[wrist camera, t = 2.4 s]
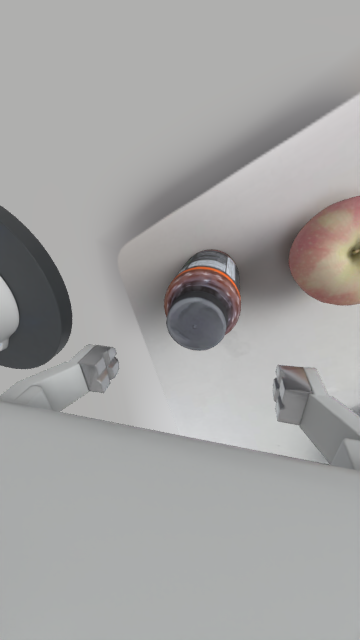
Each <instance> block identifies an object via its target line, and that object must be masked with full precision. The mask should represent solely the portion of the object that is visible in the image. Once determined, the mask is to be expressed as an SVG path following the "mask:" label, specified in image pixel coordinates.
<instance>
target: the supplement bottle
mask: <svg viewBox="0 0 360 640" xmlns="http://www.w3.org/2000/svg"><path fill="white" fill-rule="evenodd" d="M238 272H239V271H238V269H237V266H236V264H235V262H234V261H233V260H232V258H231V257H230V256H228V255H227V254H226V253H224V252H222V251H218V250H204V251H201V252H199V253H197V254H195V255H194V256H193V257H191V258H190V259H189V261H188V262H187V263H186V264H185V266H184V267H183V268H182V269H181V271H180V272H179V273H178V274H177V276H176V277H175V278H174V280H173V281H172V282H171V284H170V285H169V287H168V289H167V292H166V294H165V299H164V309H165V314H166V317H167V321H166V324H167V328H168V331H169V334H170V335H171V337H172V338H173V339H174V340H175V341H176V342H177V343H178V344H180V345H181V346H183V347H185V348H188V349H192V350H207V349H210V348H212V347H214V346H216V345H217V344H218V343H219V342H220V341H221V340H222V339H223V337H224V335H226V334H227V333H229V332H230V331H231V330H232V329H233V327H234V326H235V325H236V323H237V321H238V318H239V316H240V311H241V300H240V296H241V295H240V285H239V273H238Z"/></svg>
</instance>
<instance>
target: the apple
mask: <svg viewBox="0 0 360 640" xmlns="http://www.w3.org/2000/svg"><path fill="white" fill-rule="evenodd" d="M289 268H290V271H291V274H292V276H293V278H294V280H295V281H296V283H297V284H298V285H299V286H300V287H301V289H302V290H303V291H305V292H306V293H307V294H308V295H310V296H311V297H313V298H315V299H317V300H319V301H321V302H324V303H329V304H335V305H354V304H360V196H356V197H352V198H349V199H346V200H343V201H340V202H337V203H335V204H332V205H330V206H328V207H327V208H325V209H324V210H322V211H321V212H319V213H318V214H317V215H315V216H314V217H313V218H312V219H311V220H310V221H309V222H308V223H307V224H306V225H305V226H304V227H303V228H302V229H301V231H300V232H299V233H298V235H297V236H296V238H295V240H294V242H293V244H292V246H291V249H290V253H289Z"/></svg>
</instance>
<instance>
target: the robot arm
mask: <svg viewBox="0 0 360 640" xmlns="http://www.w3.org/2000/svg"><path fill="white" fill-rule="evenodd" d="M18 324H19V311H18V307H17V304H16V301H15V299H14V297H13V294H12V293H11V291H10V289H9V287H8V286H7V284H6V283H5V281H4V280H3V279H2V277H1V276H0V351H2V350H4V349H6V348H7V347H8V343H9V337H10V336H11V335H12V334H13V333H14V332H15V331H16V329H17V327H18ZM115 355H116V350H115V348H113V347H107V346H99V345H90V344H89V345H86V346H85V347H84V348H83V349H82V350H81V351H80V352H78V353H77V354H76V355H75V356H74V357H73V358H72V359H71V360H70V361H69V362H64V363H62V364H59V365H57V366H55V367H52V368H50V369H47V370H45V371H43V372H40V373H38V374H36V375H33V376H31V377H28V378H26V379H23V380H21V381H19V382H17V383H15V384H14V385H13V386H12V387H10V388H9V389H8V390H7V391H6V392H4V393H3V394H2V395H1V396H0V640H360V417H359V416H358V415H357V414H355V413H354V412H353V411H351V410H350V409H349V408H347V407H346V406H345V405H343V404H342V403H341V402H339V401H338V400H337V399H336V398H334V397H331V396H329V395H328V392H327V390H326V388H325V386H324V384H323V382H322V380H321V377H320V375H319V373H318V371H317V369H316V368H310V367H295V366H285V365H277V367H276V376H277V377H276V378H275V379H274V383H273V398H274V401H275V402H276V407H275V410H276V415H277V421H279V422H284V423H290V424H295V425H300V428H301V429H302V430H303V431H304V433H305V434H306V435H307V436H308V438H309V439H310V440H311V441H312V442H313V444H314V445H315V446H316V447H317V449H318V450H319V451H320V452H321V454H322V455H323V456H324V457H325V459H326V460H327V461H328V462H329V463H330V465H328V464H323V463H318V462H313V461H308V460H303V459H298V458H292V457H287V456H282V455H277V454H272V453H267V452H262V451H257V450H252V449H247V448H241V447H236V446H231V445H226V444H221V443H216V442H211V441H206V440H201V439H196V438H191V437H185V436H180V435H175V434H170V433H164V432H160V431H155V430H150V429H145V428H139V427H134V426H129V425H124V424H119V423H114V422H109V421H104V420H98V419H93V418H88V417H83V416H77V415H73V414H68V413H63V412H60V411H62V410H63V409H64V408H66V407H67V406H69V405H70V404H72V403H73V402H75V401H76V400H78V399H79V398H81V397H82V396H84V395H85V394H87V393H88V392H89V391H92V392H100V393H104V392H105V390H106V389H107V388H108V386H109V385H110V380H111V379H113V378H115V376H116V375H117V373H118V370H119V362H118V360H117V359H116V357H115Z"/></svg>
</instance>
